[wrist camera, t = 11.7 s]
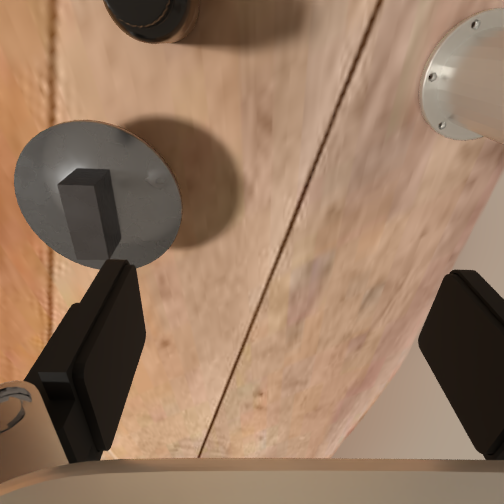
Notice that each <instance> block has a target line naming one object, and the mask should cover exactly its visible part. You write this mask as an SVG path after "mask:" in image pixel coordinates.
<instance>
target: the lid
mask: <svg viewBox="0 0 504 504" xmlns="http://www.w3.org/2000/svg"><path fill="white" fill-rule="evenodd" d="M14 186H15V194H16V198H17V202H18V205H19V207H20V209H21V212H22V214H23V216H24V217H25V219H26V221H27V223H28V224H29V225H30V227H31V228H32V230H33V231H34V232H35V233H36V234H37V235H38V236H39V238H40V239H41V240H42V241H44V242H45V243H46V244H47V245H48V246H49V247H51V248H52V249H53V250H55V251H56V252H57V253H59V254H61V255H62V256H64V257H66V258H68V259H70V260H72V261H74V262H76V263H79V264H81V265H84V266H87V267H91V268H95V269H101V267H102V266H103V264H104V262H105V261H106V260H107V259H122V260H128V261H129V263H130V265H135V267H136V268H138V267H142V266H144V265H147V264H149V263H151V262H153V261H154V260H156V259H157V258H159V257H160V256H161V255H163V254H164V253H165V252H166V251H167V249H168V248H169V247H170V246H171V244H172V243H173V241H174V239H175V237H176V235H177V233H178V230H179V227H180V224H181V219H182V198H181V193H180V190H179V186H178V183H177V181H176V179H175V176H174V174H173V173H172V171H171V169H170V168H169V166H168V165H167V163H166V162H165V161H164V159H163V158H162V157H161V156H160V155H159V154H158V153H157V152H156V150H155V149H154V148H152V147H151V146H150V145H149V144H148V143H146V142H145V141H144V140H142V139H141V138H139V137H138V136H136V135H135V134H133V133H131V132H129V131H127V130H125V129H123V128H121V127H118V126H115V125H112V124H109V123H105V122H100V121H92V120H74V121H68V122H63V123H60V124H57V125H54V126H52V127H50V128H48V129H46V130H44V131H42V132H40V133H39V134H38V135H36V136H35V137H34V138H32V139H31V141H30V142H29V143H28V144H27V145H26V146H25V148H24V149H23V151H22V152H21V154H20V156H19V159H18V161H17V164H16V169H15V174H14Z"/></svg>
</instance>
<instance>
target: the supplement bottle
mask: <svg viewBox="0 0 504 504" xmlns="http://www.w3.org/2000/svg"><path fill="white" fill-rule="evenodd" d="M103 2H104V4H105V7H106V9H107V11H108V13H109V15H110V16H111V18H112V19H113V21H114V22H115V23H116V25H117V26H118V27H119V28H120V29H121V30H122V31H123V32H125V33H126V34H127V35H129V36H130V37H132V38H134V39H136V40H138V41H141V42H144V43H151V44H159V43H173V42H177V41H180V40H182V39H183V38H185V37H186V36H187V35H188V34H189V33H190V32H191V31H192V30H193V28H194V26H195V24H196V22H197V19H198V16H199V9H200V0H103Z"/></svg>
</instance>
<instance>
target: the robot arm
mask: <svg viewBox="0 0 504 504" xmlns="http://www.w3.org/2000/svg"><path fill="white" fill-rule="evenodd" d="M472 23H473V26H472V27H471V24H472ZM430 74H431V77H430V78H429V75H430ZM428 78H429V79H428ZM419 104H420V109H421V113H422V115H423V117H424V119H425V121H426V123H427V124H428V125H429V126H430V127H431V129H433V130H434V131H436V132H437V133H438V134H440V135H442V136H444V137H446V138H450V139H453V140H464V141H466V140H473V139H478V138H481V137H487V138H489V139H491V140H494V141H496V142H499V143H501V144H503V145H504V8H495V9H489V10H484V11H481V12H479V13H476V14H473V15H471V16H470V17H468V18H466V19H464V20H463V21H461V22H460V23H458V24H457V25H456V26H455V27H454V28H452V29H451V30H450V31H449V32H448V33H447V34H446V35H445V36H444V37H443V38H442V39H441V40H440V42H439V43H438V44H437V46H436V47H435V49H434V50H433V52H432V53H431V55H430V57H429V59H428V61H427V63H426V65H425V67H424V70H423V73H422V76H421V80H420V87H419ZM439 124H440V125H439ZM145 338H146V329H145V323H144V316H143V310H142V304H141V297H140V291H139V284H138V278H137V271H136V267H135V265H130V263H129V261H128V260H122V259H107V260H106V261H105V262H104V264H103V266H102V267H101V269H100V271H99V272H98V274H97V276H96V277H95V279H94V280H93V282H92V284H91V285H90V287H89V289H88V290H87V292H86V294H85V295H84V297H83V299H82V300H81V302H80V303H75V304H73V305H72V306H71V307H70V308H69V310H68V312H67V313H66V315H65V316H64V318H63V319H62V321H61V323H60V324H59V326H58V327H57V329H56V330H55V332H54V334H53V335H52V337H51V338H50V340H49V341H48V343H47V345H46V346H45V348H44V349H43V351H42V352H41V354H40V356H39V357H38V359H37V360H36V362H35V364H34V365H33V367H32V368H31V370H30V371H29V373H28V375H27V376H26V378H25V379H24V381H11V382H5V383H2V384H0V504H504V299H503V298H502V297H501V296H500V295H499V294H498V293H497V292H496V291H495V290H494V289H493V288H492V287H491V286H490V285H489V284H488V283H487V282H486V281H485V280H484V279H483V278H482V277H481V276H480V275H479V274H478V273H477V272H476V271H474V270H452V271H451V272H450V274H447V275H446V276H445V277H444V278H443V281H442V283H441V286H440V288H439V290H438V293H437V295H436V297H435V300H434V302H433V304H432V307H431V309H430V312H429V314H428V316H427V319H426V321H425V323H424V326H423V328H422V331H421V333H420V335H419V339H418V343H419V348H420V350H421V352H422V353H423V355H424V357H425V359H426V360H427V362H428V364H429V366H430V368H431V370H432V371H433V373H434V375H435V377H436V379H437V380H438V382H439V384H440V386H441V388H442V389H443V391H444V393H445V395H446V397H447V398H448V400H449V402H450V404H451V406H452V407H453V409H454V411H455V413H456V415H457V417H458V418H459V420H460V422H461V424H462V425H463V427H464V429H465V431H466V433H467V435H468V436H469V438H470V440H471V442H472V443H473V445H474V447H475V449H476V450H477V451H478V452H479V453H481V454H483V456H484V457H485V459H486V460H441V459H440V460H439V459H329V458H162V459H117V460H101V461H100V459H101V456H102V453H103V451H108V450H109V449H110V448H111V445H112V443H113V440H114V436H115V433H116V430H117V427H118V424H119V421H120V418H121V415H122V412H123V409H124V405H125V402H126V399H127V396H128V393H129V390H130V387H131V384H132V381H133V378H134V374H135V371H136V368H137V365H138V362H139V359H140V356H141V353H142V350H143V346H144V343H145Z"/></svg>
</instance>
